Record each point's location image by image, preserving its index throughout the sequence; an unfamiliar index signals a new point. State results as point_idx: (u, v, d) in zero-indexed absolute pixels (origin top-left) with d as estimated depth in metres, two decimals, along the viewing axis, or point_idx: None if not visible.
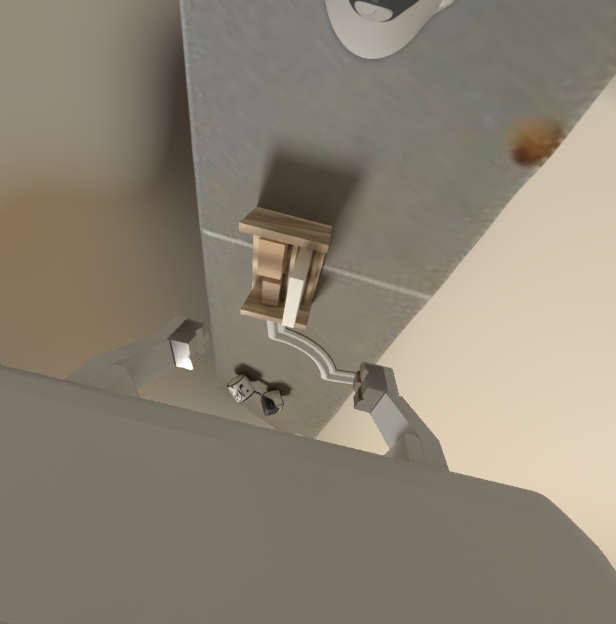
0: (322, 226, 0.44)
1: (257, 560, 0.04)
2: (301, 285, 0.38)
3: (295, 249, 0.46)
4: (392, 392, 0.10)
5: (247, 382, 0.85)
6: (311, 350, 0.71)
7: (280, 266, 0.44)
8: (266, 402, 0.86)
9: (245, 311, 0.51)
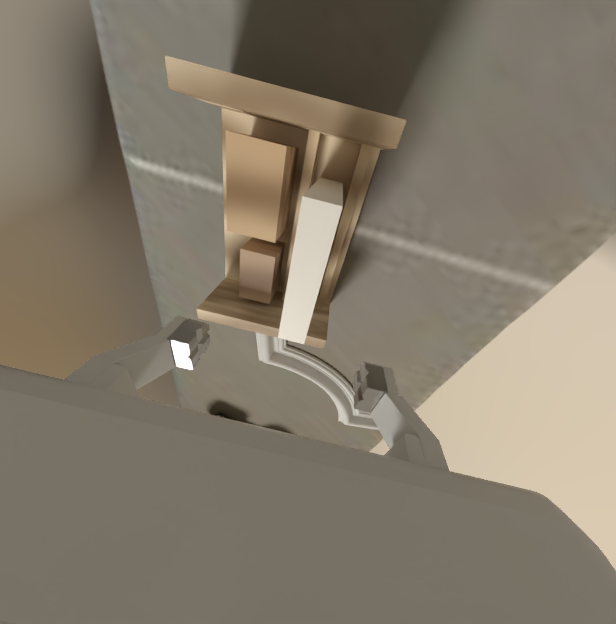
0: None
1: (257, 561, 0.04)
2: (334, 223, 0.14)
3: (307, 179, 0.22)
4: (392, 392, 0.10)
5: None
6: (327, 380, 0.44)
7: (276, 208, 0.20)
8: None
9: (206, 312, 0.26)
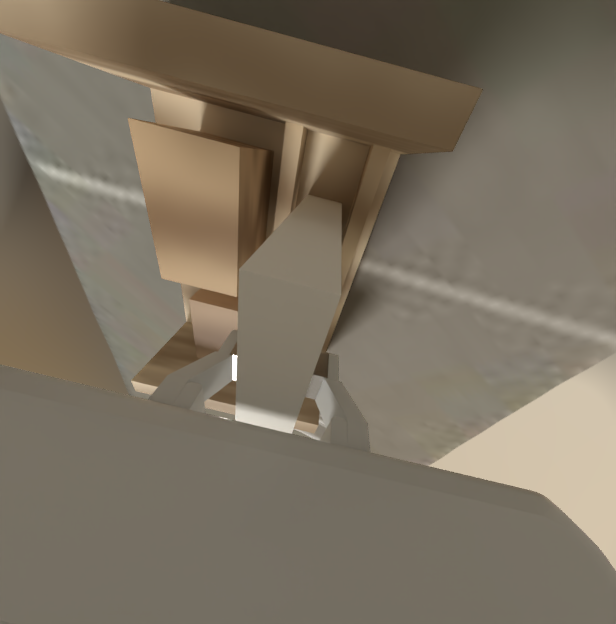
0: None
1: (257, 561, 0.04)
2: (321, 325, 0.06)
3: (287, 199, 0.14)
4: (332, 377, 0.10)
5: None
6: None
7: (232, 248, 0.12)
8: None
9: (146, 385, 0.18)
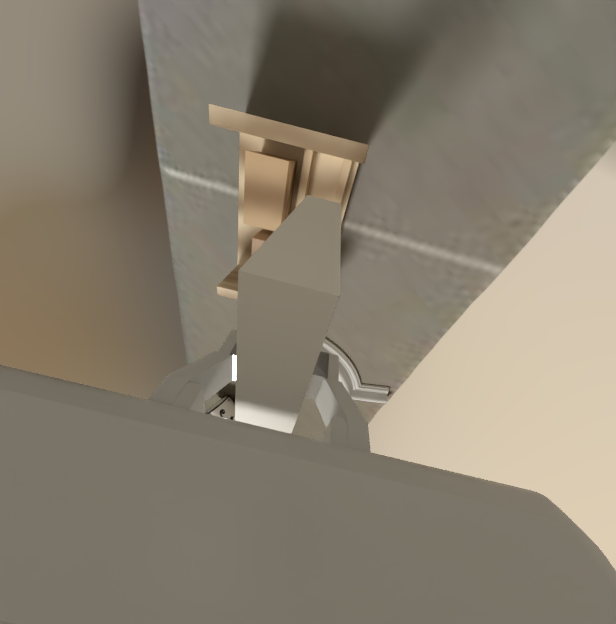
0: None
1: (257, 560, 0.04)
2: (320, 326, 0.06)
3: (304, 184, 0.29)
4: (332, 377, 0.10)
5: (231, 406, 0.63)
6: None
7: (280, 205, 0.27)
8: None
9: (224, 289, 0.33)
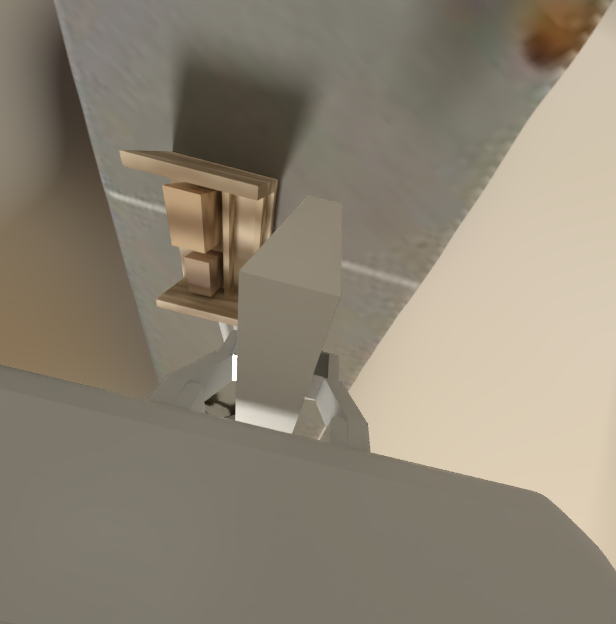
0: (262, 176, 0.31)
1: (257, 561, 0.04)
2: (320, 327, 0.06)
3: (226, 211, 0.33)
4: (332, 377, 0.10)
5: None
6: None
7: (201, 231, 0.31)
8: None
9: (163, 302, 0.37)
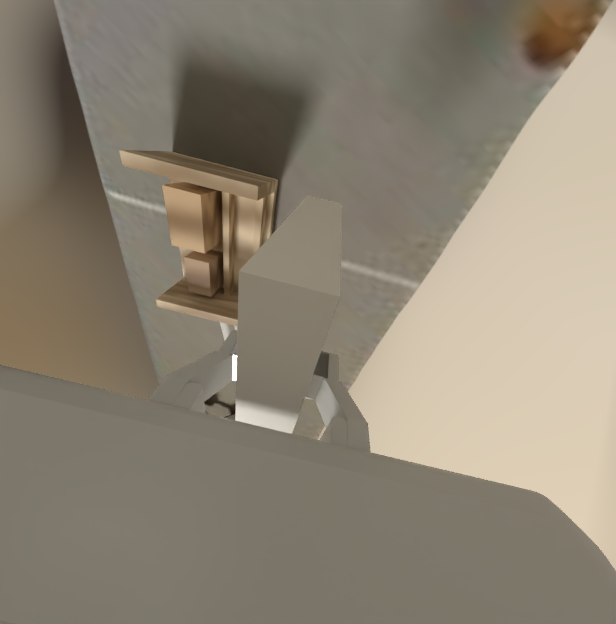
0: (262, 176, 0.31)
1: (256, 561, 0.04)
2: (320, 327, 0.06)
3: (226, 211, 0.33)
4: (332, 377, 0.10)
5: None
6: None
7: (201, 231, 0.31)
8: None
9: (163, 302, 0.37)
